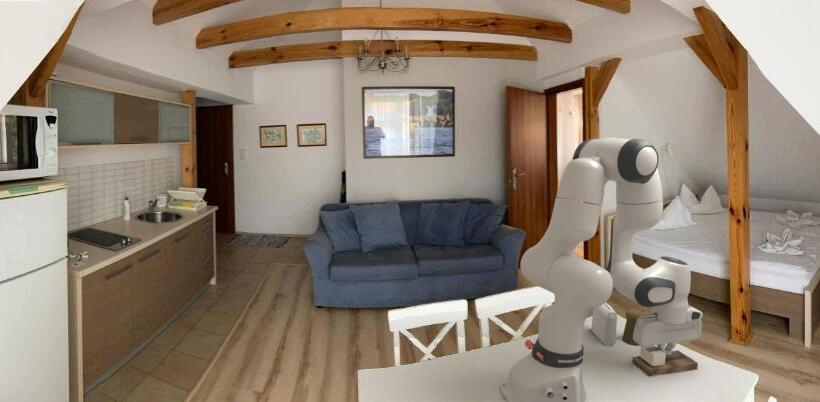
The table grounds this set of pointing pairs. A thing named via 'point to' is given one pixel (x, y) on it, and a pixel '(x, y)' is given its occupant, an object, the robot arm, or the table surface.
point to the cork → (631, 326)
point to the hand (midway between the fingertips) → (664, 354)
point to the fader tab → (653, 355)
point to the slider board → (667, 364)
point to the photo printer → (604, 324)
